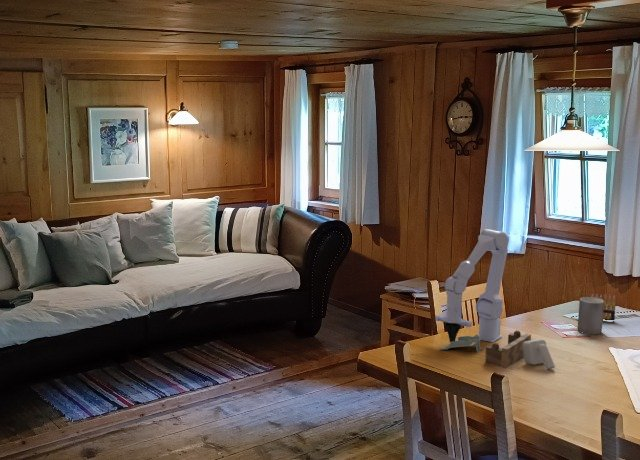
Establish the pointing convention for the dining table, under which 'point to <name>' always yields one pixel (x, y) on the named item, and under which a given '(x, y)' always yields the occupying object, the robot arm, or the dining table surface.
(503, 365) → the brown crenellated block
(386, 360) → the dining table surface
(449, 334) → the robot arm
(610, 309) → the ammunition clip
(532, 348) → the grey chunky block
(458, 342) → the metal bracket
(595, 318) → the pillar candle
